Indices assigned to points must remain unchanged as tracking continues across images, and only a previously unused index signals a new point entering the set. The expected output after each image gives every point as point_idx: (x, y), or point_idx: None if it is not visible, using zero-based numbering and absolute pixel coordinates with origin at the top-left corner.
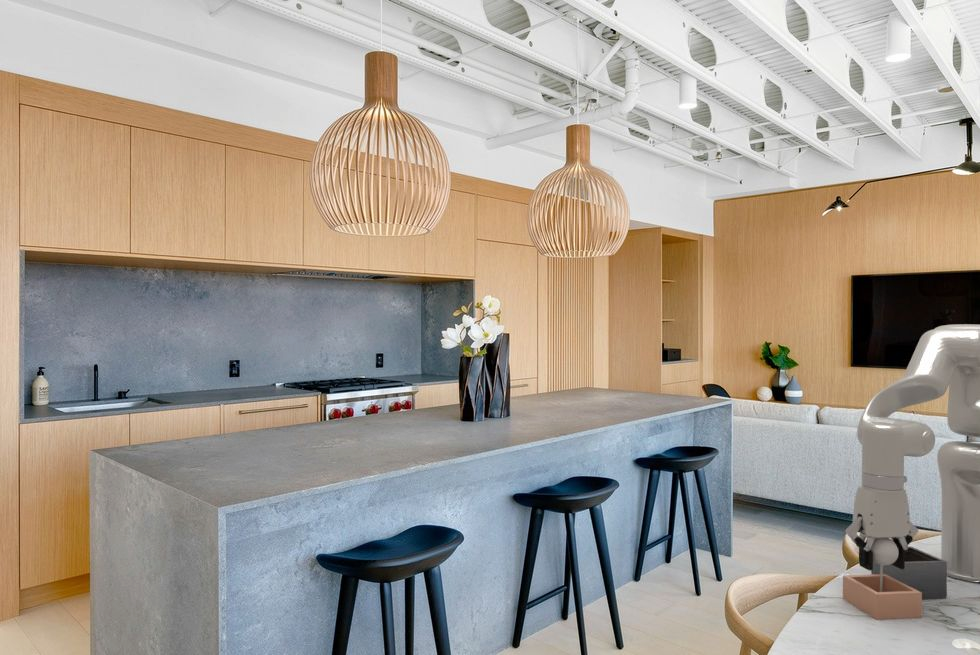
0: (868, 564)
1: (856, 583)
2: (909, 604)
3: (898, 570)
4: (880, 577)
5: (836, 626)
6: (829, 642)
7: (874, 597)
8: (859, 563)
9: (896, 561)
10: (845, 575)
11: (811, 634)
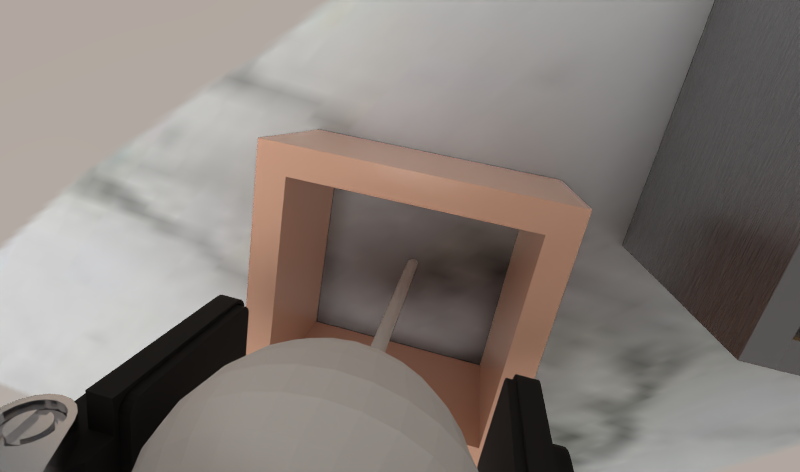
0: None
1: (251, 260)
2: None
3: (719, 248)
4: (373, 339)
5: (116, 317)
6: (37, 379)
7: None
8: (215, 300)
9: (489, 466)
10: (275, 141)
11: (11, 326)
